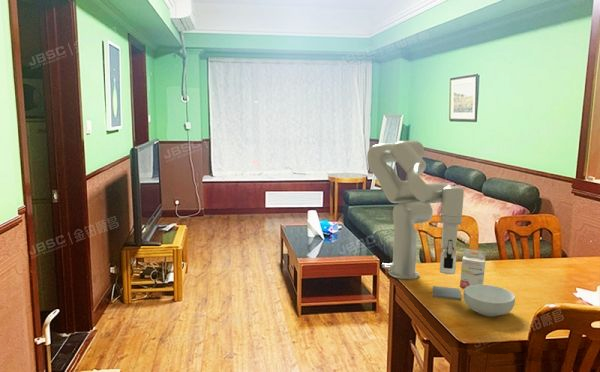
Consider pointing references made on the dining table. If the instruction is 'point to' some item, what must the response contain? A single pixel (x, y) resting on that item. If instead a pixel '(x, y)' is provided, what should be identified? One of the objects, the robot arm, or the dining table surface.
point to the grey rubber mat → (446, 293)
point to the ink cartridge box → (472, 268)
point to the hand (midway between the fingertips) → (447, 265)
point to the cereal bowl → (489, 299)
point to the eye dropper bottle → (447, 270)
